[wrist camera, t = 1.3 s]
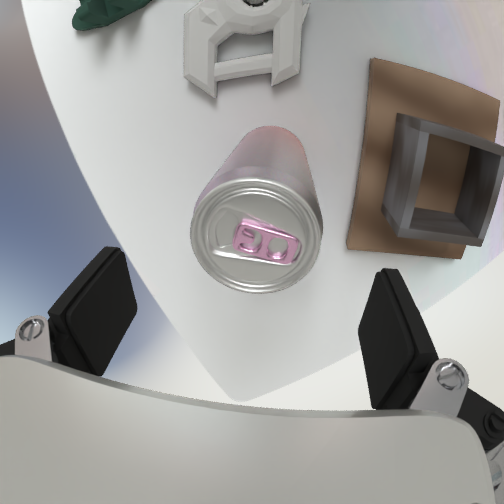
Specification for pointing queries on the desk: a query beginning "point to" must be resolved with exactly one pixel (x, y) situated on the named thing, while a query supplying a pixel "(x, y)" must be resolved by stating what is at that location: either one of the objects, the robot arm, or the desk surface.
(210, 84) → the grey mechanical plate
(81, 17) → the mount
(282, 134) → the beverage can
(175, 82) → the desk surface
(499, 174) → the can dock
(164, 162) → the desk surface
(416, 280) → the desk surface
